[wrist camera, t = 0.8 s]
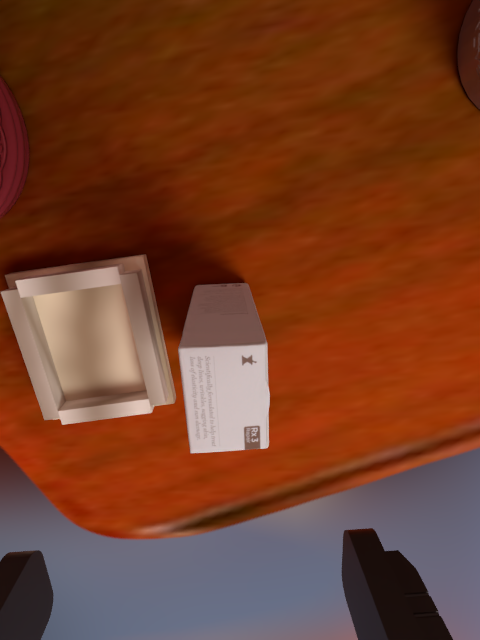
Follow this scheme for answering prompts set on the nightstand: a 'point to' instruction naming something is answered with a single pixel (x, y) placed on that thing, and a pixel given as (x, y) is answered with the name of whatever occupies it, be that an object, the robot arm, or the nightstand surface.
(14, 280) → the white shallow tray
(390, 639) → the robot arm
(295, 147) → the nightstand surface
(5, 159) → the canister
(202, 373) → the skincare box
